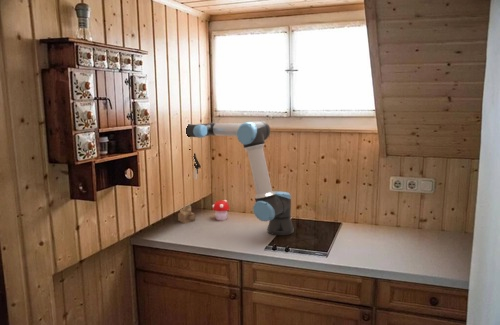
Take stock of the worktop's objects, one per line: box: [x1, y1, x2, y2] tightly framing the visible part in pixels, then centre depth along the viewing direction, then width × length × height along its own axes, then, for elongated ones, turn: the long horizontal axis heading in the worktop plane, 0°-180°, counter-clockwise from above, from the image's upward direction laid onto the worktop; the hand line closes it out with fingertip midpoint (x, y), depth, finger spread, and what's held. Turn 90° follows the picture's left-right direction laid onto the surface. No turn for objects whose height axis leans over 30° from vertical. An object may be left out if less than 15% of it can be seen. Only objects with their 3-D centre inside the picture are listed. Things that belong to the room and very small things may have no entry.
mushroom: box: [211, 199, 230, 221], centre depth 271 cm, size 11×11×12 cm
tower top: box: [179, 205, 192, 215], centre depth 267 cm, size 5×5×5 cm
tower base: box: [177, 211, 196, 224], centre depth 268 cm, size 8×8×5 cm
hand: (185, 180), depth 264 cm, fingers open, 13 cm apart
